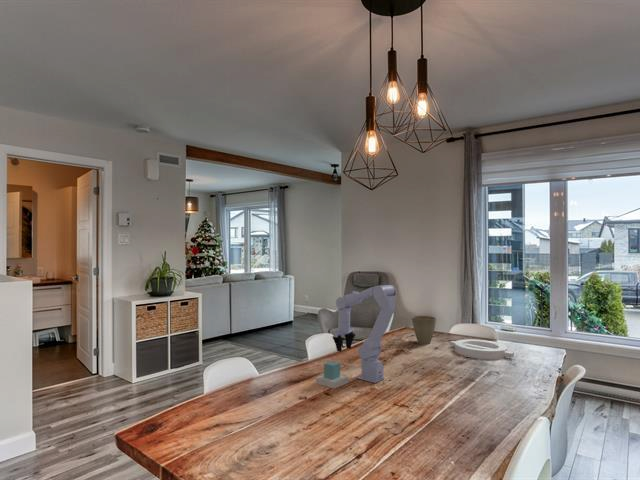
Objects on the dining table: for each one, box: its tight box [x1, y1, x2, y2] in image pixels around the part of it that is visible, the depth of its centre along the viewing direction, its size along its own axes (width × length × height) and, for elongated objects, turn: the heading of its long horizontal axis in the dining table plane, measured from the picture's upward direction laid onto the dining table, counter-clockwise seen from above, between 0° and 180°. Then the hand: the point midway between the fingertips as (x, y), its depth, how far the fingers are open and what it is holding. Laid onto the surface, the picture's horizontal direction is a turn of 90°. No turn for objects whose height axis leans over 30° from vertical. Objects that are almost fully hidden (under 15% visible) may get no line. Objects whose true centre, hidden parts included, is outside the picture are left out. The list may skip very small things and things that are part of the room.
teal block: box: [323, 360, 341, 380], centre depth 173 cm, size 5×5×6 cm
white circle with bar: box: [449, 338, 515, 360], centre depth 227 cm, size 28×28×5 cm
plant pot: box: [411, 315, 437, 345], centre depth 250 cm, size 15×15×16 cm
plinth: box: [315, 374, 349, 389], centre depth 173 cm, size 10×10×2 cm
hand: (343, 349), depth 191 cm, fingers open, 7 cm apart
